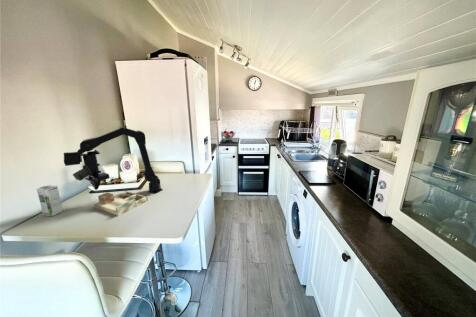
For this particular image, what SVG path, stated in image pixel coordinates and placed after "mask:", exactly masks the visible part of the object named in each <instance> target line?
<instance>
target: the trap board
mask: <svg viewBox="0 0 476 317" xmlns="http://www.w3.org/2000/svg"><path fill="white" fill-rule="evenodd" d="M148 198H149V197H148V196H145V195H141V194H139V193H134V192H131V191H126V190H125V191H123V192H120V193H118V194H115V195H114V201H112V202H110V203H108V204H102V203H99V201H98V202H96V203H95V202H94V208H95V209H96V210H99V211H102V212H106V213H107V214H111V215H114V216H117V217H119V216H122V215H123V214H124V213H127V212H129V211H131V210H133V209H135V208H137V207H139V206H141V205H143V204H145V203H146V201H147V202H148V201H149V199H148ZM144 202H145V203H144Z"/></svg>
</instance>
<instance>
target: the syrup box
mask: <svg viewBox="0 0 476 317" xmlns="http://www.w3.org/2000/svg"><path fill="white" fill-rule="evenodd" d="M58 188H59V187H58V186H57V185H51V184H48V185H44V186H40V187H38V188H36V193H37V197H38V199H39V200H38V201H39V204H40V207H41V211H42V214H43V216H46V217H54V216H56V215H59V214H60V213H62V212H64V207H63V204H62V199H61V196H60V192H59V189H58Z"/></svg>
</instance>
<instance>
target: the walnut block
mask: <svg viewBox="0 0 476 317" xmlns="http://www.w3.org/2000/svg"><path fill="white" fill-rule="evenodd" d="M114 196H115V195H114V194H113V193H111V192H109V191H108V192H105V193H102V194H99V195H97V197H98V202H99V203H102V204H108V203H110V202H112V201H114Z"/></svg>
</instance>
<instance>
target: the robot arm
mask: <svg viewBox="0 0 476 317" xmlns="http://www.w3.org/2000/svg"><path fill="white" fill-rule="evenodd" d="M123 135H124V136H127V137H130V138H132V139H134V140H135V142H136V145H137V146H138V149H139V153H140V157H141V160H142V163H143V168H144V169H143V170H142V171H141V172H142V173H143V178H144V179H145V180H146V181H147V182H148V192H149V193H152V194H157V193H159V192H162V191H163V188H162V186H161V179H160V178H159V176H158V175H156V173H155V172H154V170H153V168H152V164H151V162H150V158H149V154H148V149H147V146H146V134H145V133H144V132H143V131H141V130H139V129H138V130H134V129H130V128H127V127H124V126H121V127H118V128H117V129H114V130H112V131H109V132H107V133H105V134H102V135H99V136H96V137H95V136H94V137H91V138H86V139H84V140H82V141H81V142H80V143H79V148H78V150H77V151H72V152H68V151H67V152H63V163H64V166H66V167H67V166H69V167H70V166H75V165H76V166H77V165H81V163H83V165H82V168H81V169H79V170H77V171H76V172H74V173H73V174H72V177H73V178H75V180H77V181H83V180H86V181H89V182H90V184H91V186H92V187H93V189H94V190H97V191H98V189H99V187H100V185H101V183H102V181H105V180H108V179H110V178H111V177H110V173H106V172H102V170H100V168H99V167H100V165H101V164H100V163H98V159H97V158H98V157H97V155H100V153H101V152H100V151H98V150H97V149H96V148H98V147H99V146H101V145H102V144H104V143H107V142H108V141H111V140H114V139H116V138H118V137H120V136H123Z"/></svg>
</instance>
